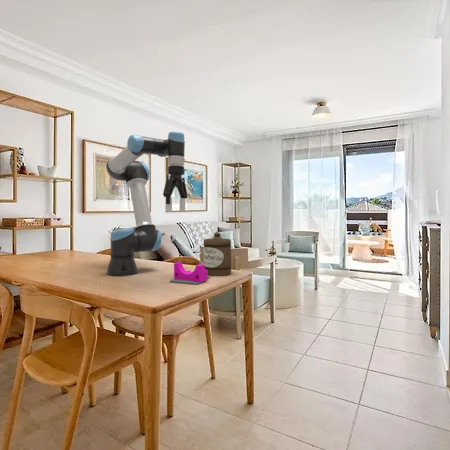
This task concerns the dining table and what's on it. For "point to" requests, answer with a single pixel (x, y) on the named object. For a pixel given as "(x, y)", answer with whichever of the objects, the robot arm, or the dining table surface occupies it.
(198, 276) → the toy block
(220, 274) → the wooden container
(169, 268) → the dining table surface
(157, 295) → the dining table surface
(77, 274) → the dining table surface
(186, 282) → the mat
